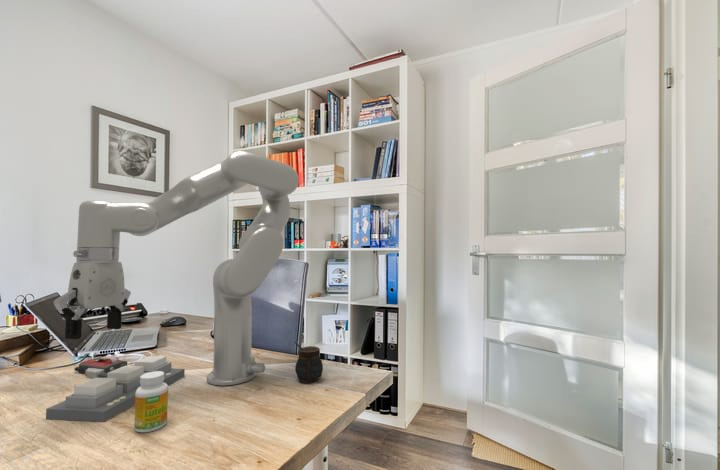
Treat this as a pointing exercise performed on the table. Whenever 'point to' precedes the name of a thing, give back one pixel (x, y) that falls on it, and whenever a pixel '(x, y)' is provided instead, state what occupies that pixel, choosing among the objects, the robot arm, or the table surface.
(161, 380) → the supplement bottle
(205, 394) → the table surface
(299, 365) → the mate gourd
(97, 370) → the walkie-talkie
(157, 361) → the button
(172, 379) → the button panel
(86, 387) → the button
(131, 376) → the button
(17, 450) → the table surface
